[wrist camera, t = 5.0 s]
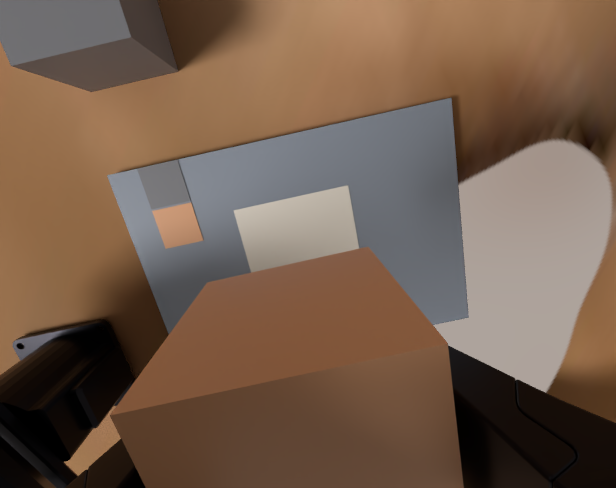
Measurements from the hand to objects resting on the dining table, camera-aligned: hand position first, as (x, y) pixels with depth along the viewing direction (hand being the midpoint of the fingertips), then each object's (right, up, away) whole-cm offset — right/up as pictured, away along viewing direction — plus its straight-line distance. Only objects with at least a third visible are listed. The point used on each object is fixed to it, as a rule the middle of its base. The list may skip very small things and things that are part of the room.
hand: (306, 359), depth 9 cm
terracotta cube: (0, 0, +1) cm, 1 cm away
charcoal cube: (-10, +15, +8) cm, 19 cm away
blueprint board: (0, +3, +11) cm, 11 cm away
